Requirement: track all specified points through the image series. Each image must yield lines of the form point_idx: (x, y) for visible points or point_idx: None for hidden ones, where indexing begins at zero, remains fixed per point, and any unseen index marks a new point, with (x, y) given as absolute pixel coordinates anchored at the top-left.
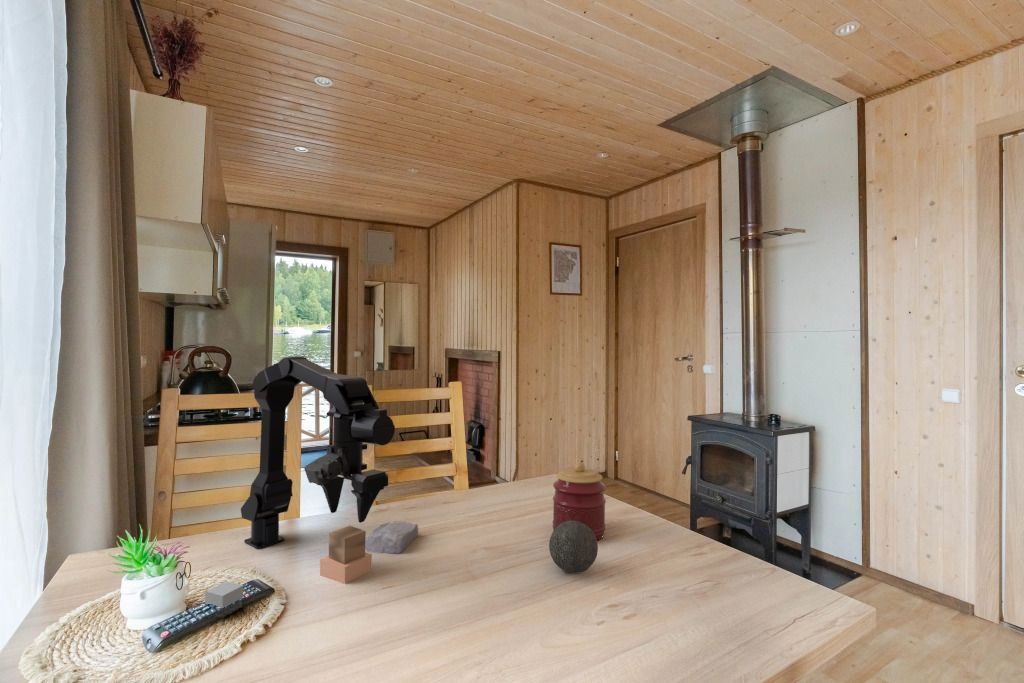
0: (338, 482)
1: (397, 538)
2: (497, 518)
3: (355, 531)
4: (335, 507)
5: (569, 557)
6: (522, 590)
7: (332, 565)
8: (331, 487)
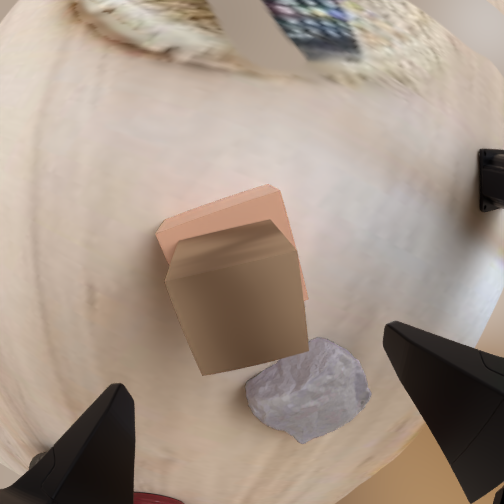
0: (475, 468)
1: (256, 408)
2: (261, 488)
3: (224, 348)
4: (396, 357)
5: (32, 461)
6: (26, 410)
7: (215, 210)
8: (490, 426)
